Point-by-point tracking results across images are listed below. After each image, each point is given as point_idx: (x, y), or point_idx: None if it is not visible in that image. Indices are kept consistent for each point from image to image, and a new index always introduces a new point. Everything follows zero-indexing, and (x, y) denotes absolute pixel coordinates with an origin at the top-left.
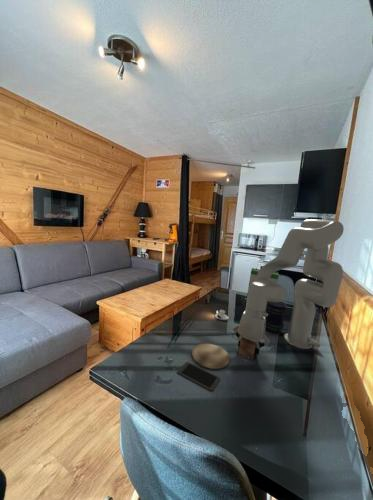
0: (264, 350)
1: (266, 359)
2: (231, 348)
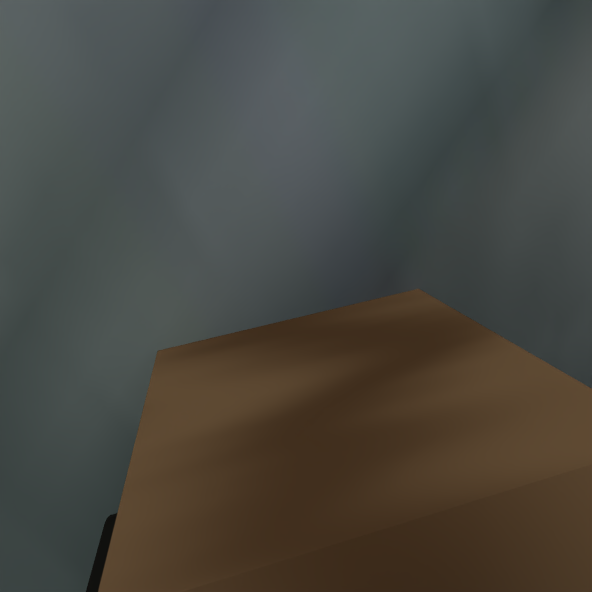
0: (493, 39)
1: (586, 298)
2: (51, 561)
